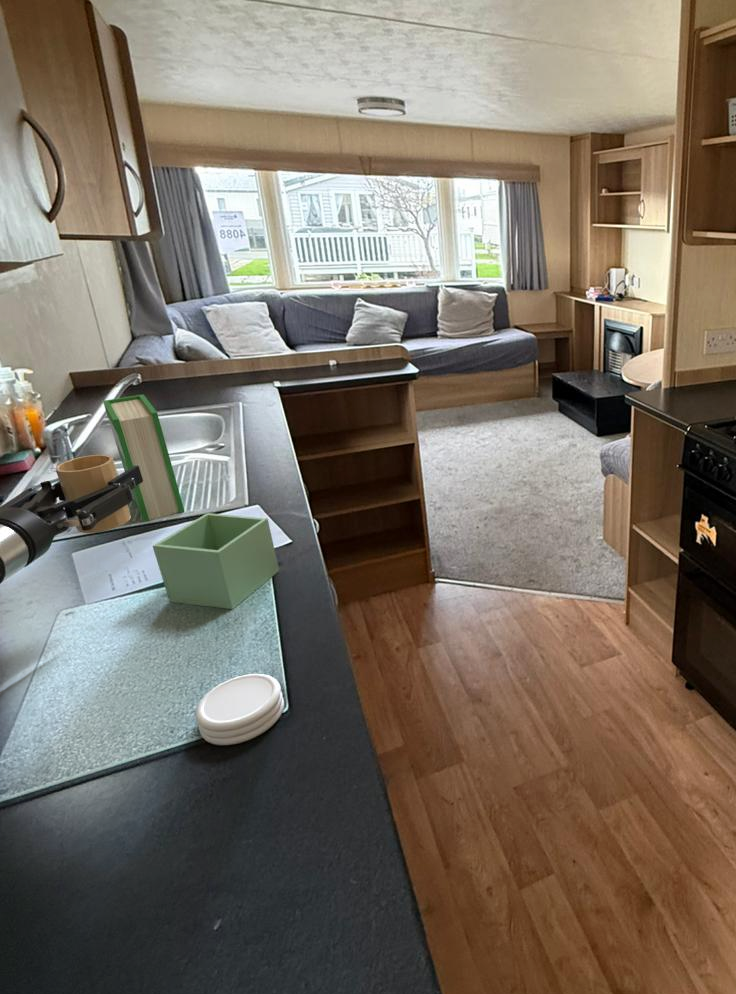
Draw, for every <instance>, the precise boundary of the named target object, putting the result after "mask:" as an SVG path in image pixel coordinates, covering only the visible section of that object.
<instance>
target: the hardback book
mask: <svg viewBox="0 0 736 994" xmlns="http://www.w3.org/2000/svg"><path fill="white" fill-rule="evenodd" d="M102 403H103V406H104V409H105V412H106V417H107V419H108V423H109V425H110V428H111V431H112V435H113V438H114V440H115V444H116V448H117V451H118V455H119V458H120V461H121V465H122V467H123V468H122V469H123V470H124V471H123V472H125V471H127V470H128V469H130V468H131V467H133V466H139V468H140V472H141V475H142V479H143V482H142V483H140V484H139V485H137V486H136V487H135V488H134V489H132V490H131V493H132V496H133V499H134V501H133V502H134V503H135V505H136V507H137V509H138V512H139V514H140V516H141V518H142V520H143V522H144V523H148V522H150V521H151V520H154V519H158V518H163V517H166V516H170V515H174V514H177V513H179V514H182V513H185V512H186V511H185V508H184V504H183V501H182V500H183V499H182V497H181V494H180V489H179V486H178V483H177V479H176V476H175V475H176V474H175V471H174V467H173V465H172V461H171V457H170V454H169V450H168V446H167V443H166V438H165V436H164V431H163V429H162V424H161V422H160V418H159V414H158V411H157V410H156V409H155V407H154V406H153V405H152V404H151V402H150V401H149V400H148V398H147V397H146V396H145V394H137V395H131V396H124V397H118V398H111V399H106V400H102Z"/></svg>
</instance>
